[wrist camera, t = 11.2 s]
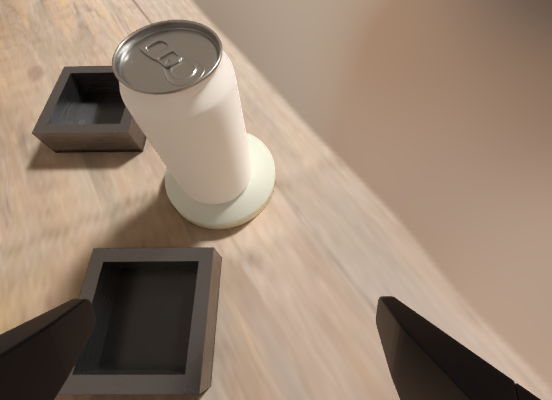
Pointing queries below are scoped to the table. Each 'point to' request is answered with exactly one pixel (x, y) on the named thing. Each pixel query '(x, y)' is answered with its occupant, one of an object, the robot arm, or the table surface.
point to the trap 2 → (149, 322)
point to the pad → (237, 208)
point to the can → (187, 106)
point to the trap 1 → (88, 114)
